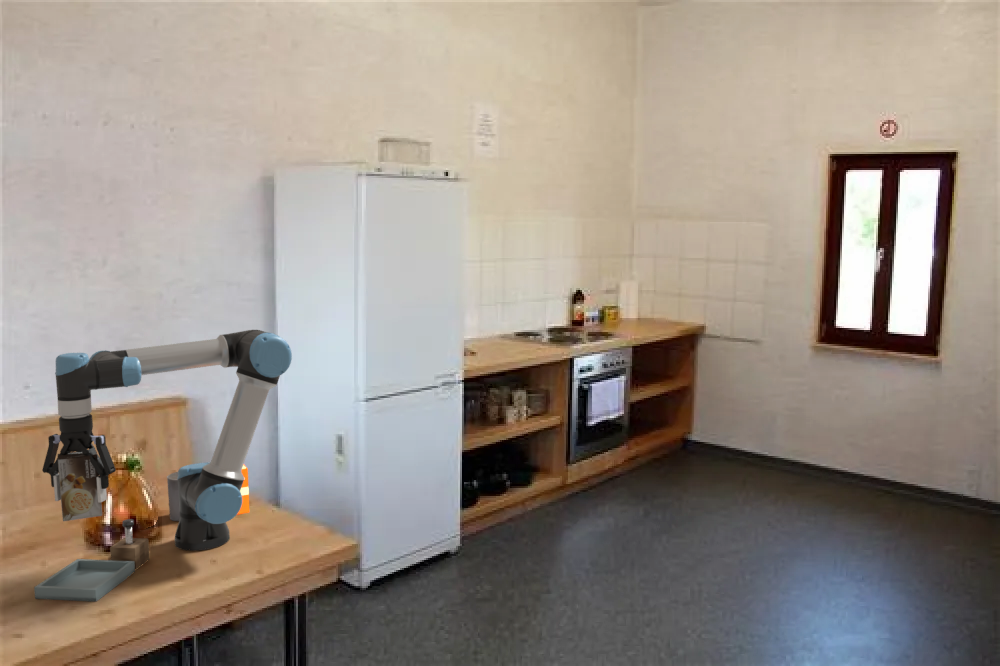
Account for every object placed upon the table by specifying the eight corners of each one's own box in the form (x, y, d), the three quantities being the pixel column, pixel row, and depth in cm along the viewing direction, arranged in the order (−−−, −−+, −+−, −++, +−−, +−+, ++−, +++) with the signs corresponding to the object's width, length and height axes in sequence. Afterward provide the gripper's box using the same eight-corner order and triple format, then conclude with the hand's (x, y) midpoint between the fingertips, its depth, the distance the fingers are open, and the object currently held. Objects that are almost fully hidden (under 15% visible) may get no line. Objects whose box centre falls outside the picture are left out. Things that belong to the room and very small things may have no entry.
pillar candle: (198, 509, 276) (195, 464, 274) (205, 517, 268) (202, 471, 266) (166, 515, 271) (163, 469, 269) (173, 524, 263) (170, 477, 261)
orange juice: (242, 504, 281) (240, 445, 279) (250, 512, 274) (247, 451, 271) (218, 508, 277) (215, 449, 274) (225, 516, 270) (222, 455, 267)
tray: (134, 572, 227) (134, 561, 226) (96, 601, 209) (95, 589, 208) (78, 569, 228) (77, 558, 228) (35, 598, 210) (34, 587, 210)
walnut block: (149, 559, 235) (148, 538, 234) (136, 569, 228) (134, 548, 227) (125, 558, 236) (124, 537, 235) (111, 568, 229) (110, 547, 228)
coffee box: (101, 509, 221) (97, 448, 219) (102, 516, 215) (98, 454, 213) (61, 514, 217) (57, 453, 215) (61, 522, 211) (57, 459, 209)
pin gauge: (138, 562, 233) (135, 519, 232) (132, 566, 230) (130, 522, 229) (128, 561, 233) (126, 518, 232) (123, 565, 231) (120, 522, 229)
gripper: (127, 412, 215) (132, 496, 218) (41, 410, 218) (47, 494, 221) (111, 419, 208) (116, 506, 211) (22, 417, 210) (28, 503, 213)
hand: (81, 500), depth 216 cm, fingers closed on coffee box, 11 cm apart
